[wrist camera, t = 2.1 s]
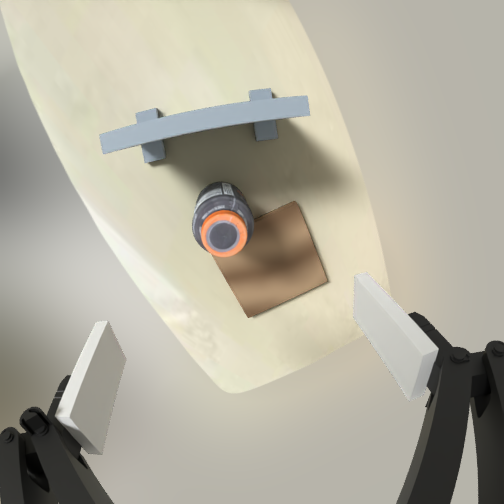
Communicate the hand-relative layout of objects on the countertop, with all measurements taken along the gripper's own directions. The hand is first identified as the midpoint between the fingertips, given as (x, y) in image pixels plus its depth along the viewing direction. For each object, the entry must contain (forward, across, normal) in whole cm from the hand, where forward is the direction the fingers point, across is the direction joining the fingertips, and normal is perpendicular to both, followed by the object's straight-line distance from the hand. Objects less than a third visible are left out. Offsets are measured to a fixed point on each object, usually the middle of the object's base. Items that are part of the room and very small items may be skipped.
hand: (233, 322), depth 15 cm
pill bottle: (+23, 0, 0) cm, 23 cm away
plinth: (+23, +5, -8) cm, 25 cm away
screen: (+23, 0, +10) cm, 25 cm away
